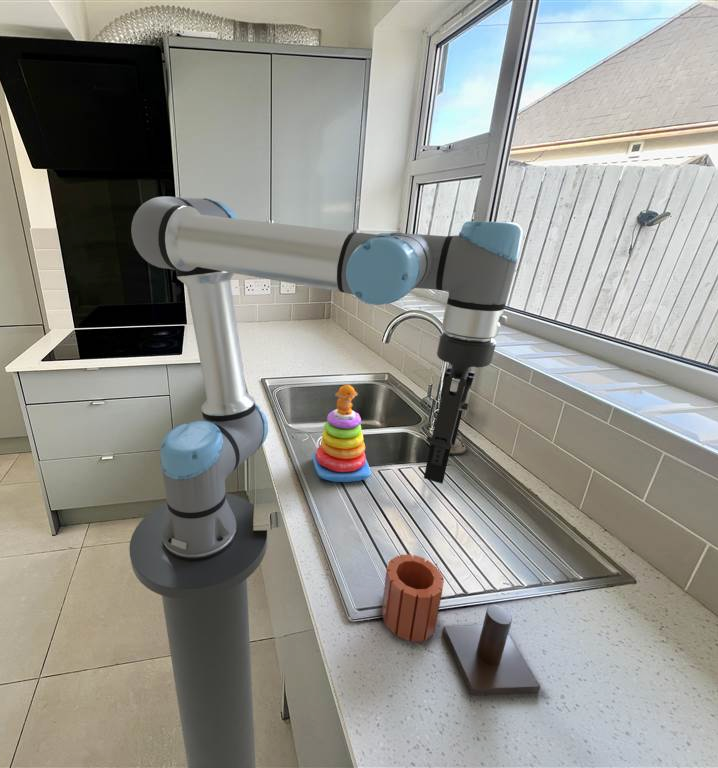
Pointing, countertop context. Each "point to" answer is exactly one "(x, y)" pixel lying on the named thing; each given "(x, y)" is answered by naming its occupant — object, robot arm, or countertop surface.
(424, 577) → the ring
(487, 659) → the ring holder
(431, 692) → the countertop surface
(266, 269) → the robot arm
